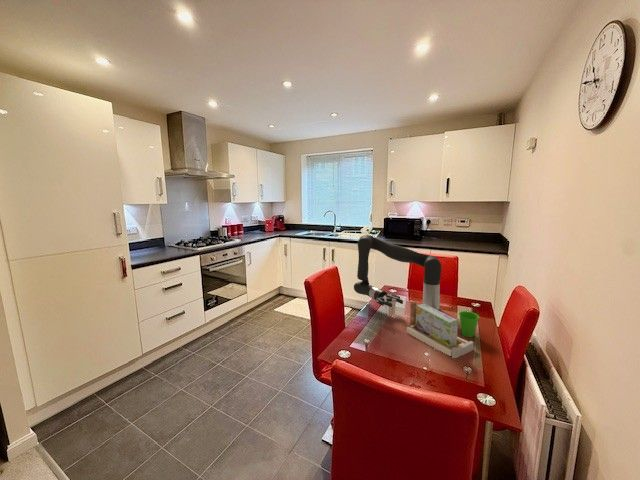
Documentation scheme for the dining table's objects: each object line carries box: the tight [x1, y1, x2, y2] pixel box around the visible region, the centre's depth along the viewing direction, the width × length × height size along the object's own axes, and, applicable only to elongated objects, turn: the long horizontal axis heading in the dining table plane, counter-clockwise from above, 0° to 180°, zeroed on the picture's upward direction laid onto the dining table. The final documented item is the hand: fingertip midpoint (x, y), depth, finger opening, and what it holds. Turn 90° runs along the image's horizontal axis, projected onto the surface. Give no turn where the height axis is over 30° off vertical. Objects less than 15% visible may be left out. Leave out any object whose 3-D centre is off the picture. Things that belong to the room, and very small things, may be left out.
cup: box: [458, 310, 480, 338], centre depth 134 cm, size 9×9×11 cm
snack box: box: [416, 302, 459, 348], centre depth 130 cm, size 21×6×15 cm, turn 23°
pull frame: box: [408, 301, 465, 350], centre depth 132 cm, size 10×28×14 cm, turn 29°
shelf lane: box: [406, 326, 474, 359], centre depth 130 cm, size 14×27×4 cm, turn 29°
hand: (397, 303), depth 152 cm, fingers open, 8 cm apart
